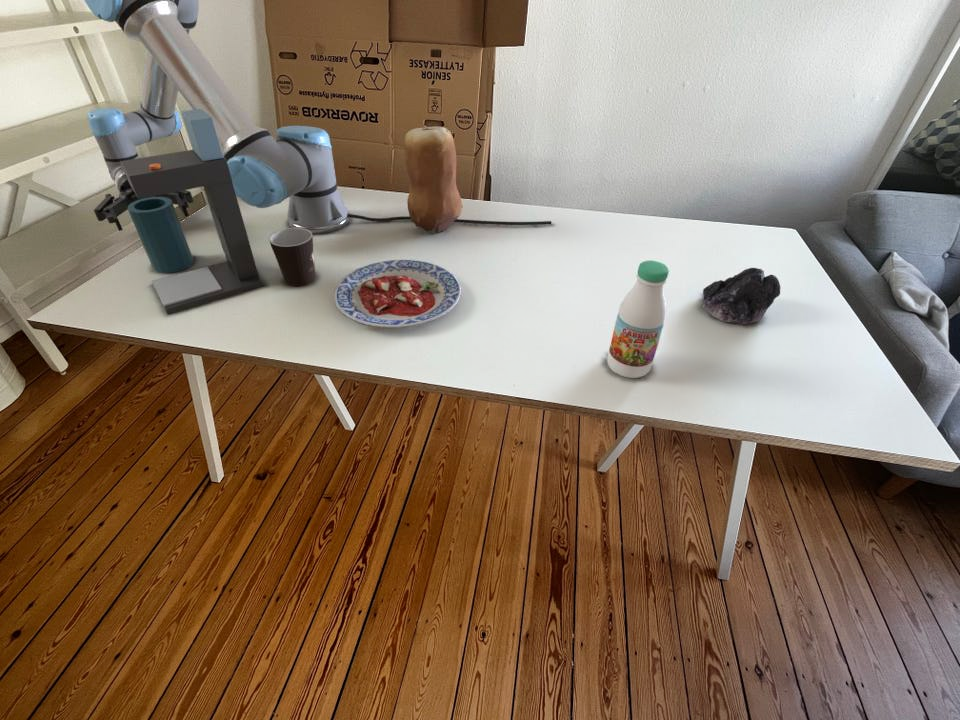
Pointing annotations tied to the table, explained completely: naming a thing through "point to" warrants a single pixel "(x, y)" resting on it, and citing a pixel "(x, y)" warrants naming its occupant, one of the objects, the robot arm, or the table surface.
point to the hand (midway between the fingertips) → (152, 217)
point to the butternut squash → (432, 178)
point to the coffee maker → (213, 175)
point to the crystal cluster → (741, 296)
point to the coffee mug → (294, 255)
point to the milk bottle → (639, 322)
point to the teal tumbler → (161, 234)
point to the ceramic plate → (397, 293)
